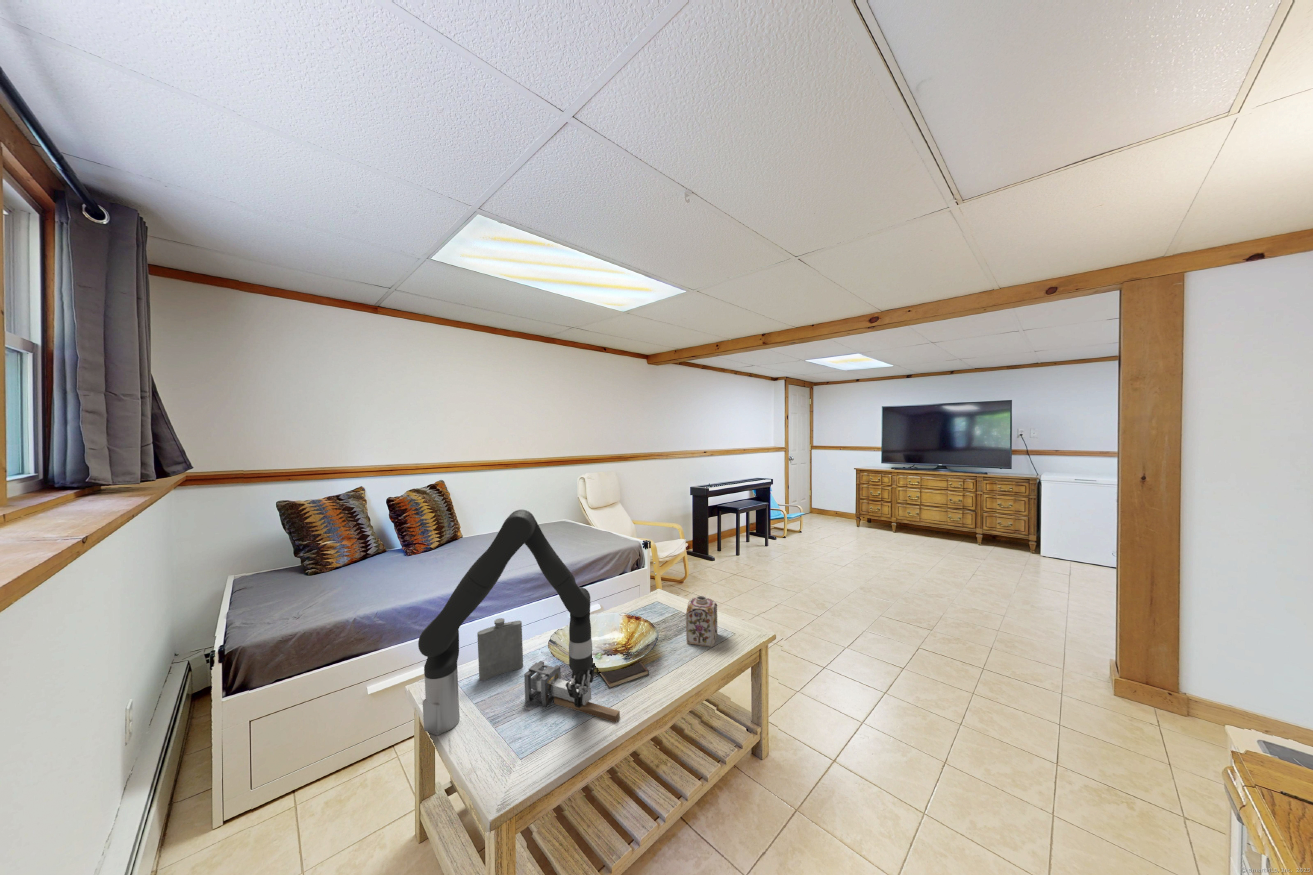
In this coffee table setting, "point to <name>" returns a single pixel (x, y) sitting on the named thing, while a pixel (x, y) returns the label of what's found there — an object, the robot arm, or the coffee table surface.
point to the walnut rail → (590, 709)
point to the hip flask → (500, 648)
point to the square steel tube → (559, 688)
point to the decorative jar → (701, 621)
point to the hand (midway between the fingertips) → (581, 702)
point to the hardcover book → (624, 674)
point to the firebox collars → (548, 673)
